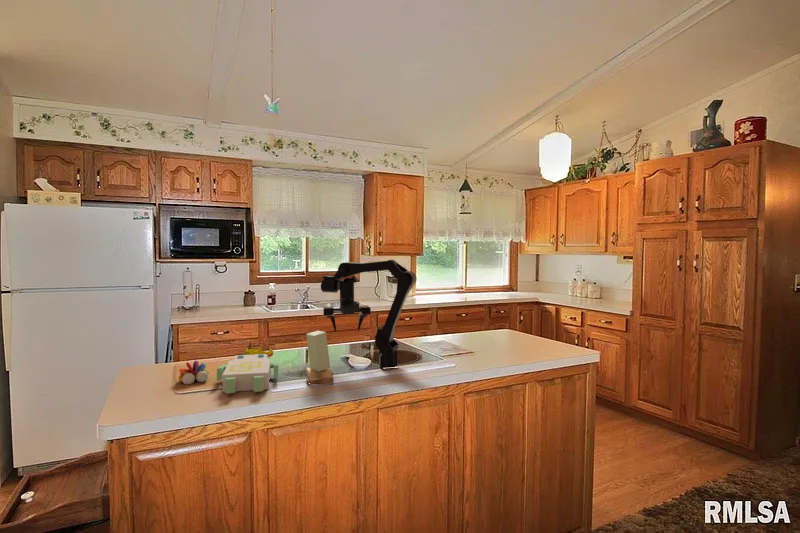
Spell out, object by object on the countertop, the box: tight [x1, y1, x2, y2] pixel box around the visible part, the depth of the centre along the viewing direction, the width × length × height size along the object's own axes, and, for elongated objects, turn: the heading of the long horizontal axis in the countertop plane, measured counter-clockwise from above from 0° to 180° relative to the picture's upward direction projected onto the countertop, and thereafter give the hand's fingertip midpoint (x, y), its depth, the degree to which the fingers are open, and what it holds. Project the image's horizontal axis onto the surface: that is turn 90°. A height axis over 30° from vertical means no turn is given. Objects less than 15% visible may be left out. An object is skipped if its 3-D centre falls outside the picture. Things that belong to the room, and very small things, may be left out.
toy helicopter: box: [243, 342, 274, 358], centre depth 169 cm, size 6×18×10 cm, turn 155°
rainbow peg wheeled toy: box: [178, 360, 210, 385], centre depth 152 cm, size 8×10×7 cm
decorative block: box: [216, 354, 280, 395], centre depth 151 cm, size 26×6×20 cm
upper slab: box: [305, 367, 334, 381], centre depth 155 cm, size 8×8×2 cm
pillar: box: [305, 330, 331, 372], centre depth 154 cm, size 5×5×13 cm
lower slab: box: [306, 375, 334, 386], centre depth 155 cm, size 9×9×2 cm
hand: (346, 331), depth 175 cm, fingers open, 9 cm apart
